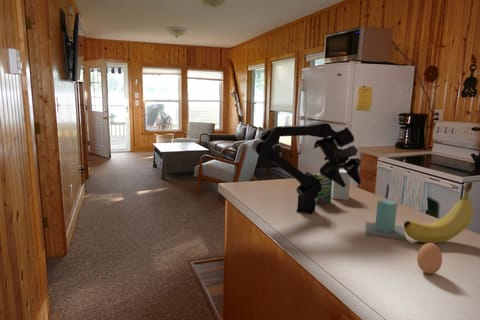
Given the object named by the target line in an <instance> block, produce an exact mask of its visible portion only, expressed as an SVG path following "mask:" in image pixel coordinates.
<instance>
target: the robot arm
mask: <svg viewBox="0 0 480 320" xmlns="http://www.w3.org/2000/svg"><path fill="white" fill-rule="evenodd" d="M298 136H300V137H301V136H302V137H306V136H308V137H309V136H310V137H315V138H320V139H315V141H314V143H313V144H314V145H313V149H317V148H320V150H321V152H322V153H323V155H324V157H323V159H324V161H325V163H324V164H322V165H321V166H320V167H319V174H321V175H322V176H324V175H325V177H327V178H329V179H331V180H333V181H334V182H336V183H337V184H339V185H341V186H342V187H345V186H346V185H345V182H344V181H343V179H342V177H341V175H340V173H339V169H341V170H342V169H343V170H345V171H347V172H346V173H347V174H348V175H349V176H350V179H352V180H353V181H354V182H355V183H357V184H358V185H360V184H361V183H362V180H361V175H360V173H359V167H360V166H361V164H362V161H361V159H360V158H359V157H356V156H357V155H358V153H359V152H358V150H359V149H358V148H357V147H356V146H355V145H351V146H348V147H346V148H344V147H345V146H347V145H350V144H352V143H354V142H355V137H354V135H353V133H352V132H351V131H350V129H349V127H348V126H344V127H342V128H340V129H339V130H337V131H336V130H334V129H333V128H332V126H331V125H330V124H329V123H327V122H322V121H317V122H313V123H308V124H305V125H273V126H271V128H269V130H268V131H267V132H265V133H264V134H263V135H262V136H261V137H260V138H259V139H256V140H255V141H254V142H253V143H252V148H251V149H252V150H253V152H254V153H256V155H257V156H259V157H262V158H263V159H265V160H267V161H270V162H272V163H273V164H275V165H276V166H278V167H279V168H280V169H281V170H283V171H284V172H286V173H287V175H288V174H289V175H290V176H291V177H292V178H294V179H295V180H296V182H298V184H299V186H297V187H296V192H297V194H298V196H297V206H296V207H297V208H296V211H295V212H297V213H301V214H302V213H305V214H310V215H313V213H314V212H315V210H316V205H317V204H316V200H314V199H316V197H317V195H318V193H319V192H320V190H321V183H320V182H319V181H320V180H319V179H318V178H316V177H314V174H313V173H310V172H309V171H308V170H307V171H305V173H304V172H303V171H301V170H300V169H298V168H297V167H295V166H294V165H293V164H291V162H289V161H287V160H286V159H285V157H282V156H281V155H280V154H278V153H277V151H276V149H275V148H274V146H275V145H276V143H277V142H278V140H279V139H280V137H298ZM351 157H353V158H351Z"/></svg>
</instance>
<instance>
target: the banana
mask: <svg viewBox="0 0 480 320" xmlns="http://www.w3.org/2000/svg"><path fill="white" fill-rule="evenodd" d="M472 187H473V182H472V181H468V182H467V183H466V184H465V185H464V186H463V187H462V189H463V190H464V193H463V197H462V198H461V199H460V200H459V201H457V203H456V204H455V205H454V206H453V207H452V208H451V209H450V211H448V212H447V214H445V216H443V217H442V218H440V219H439V220H436V221H435V222H431V223H421V222H417V221H412V220H406V221H404V222H403V223H404V224H403V231H404V233H406V235H407V236H408V237H409V238H411V239H413V240H414V241H416V242H420V243H424V244H427V243H433V244H439V243H445V242H446V241H449V240H452V239H453V238H455V237H456V236H458V235H459V234H461V233H462V232H463V231H464V230H466V228H467V227H468V226H469V224H470V223H471V221H472V219H473V217H474V216H473V214H474V208H473V205H472V203H471V201H470V199H469V198H470V197H469V193H470V191H471V190H472Z"/></svg>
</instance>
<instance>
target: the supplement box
mask: <svg viewBox="0 0 480 320" xmlns="http://www.w3.org/2000/svg"><path fill="white" fill-rule="evenodd" d="M346 172H347V171H345V169H342V168H341V169H339V173H340V175H341V177H342V179H343V181H344V182H345V185H346V186H345V187H342V186H341V185H339V184H337V183H336V182H334V181H333V180H332V189H331V199H335V200H345V201H349V197H350V188H351V177H350V176H349V175H348V174H347V173H346Z"/></svg>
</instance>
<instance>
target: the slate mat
mask: <svg viewBox="0 0 480 320" xmlns="http://www.w3.org/2000/svg"><path fill="white" fill-rule="evenodd" d="M375 224H376V222H372V221H366V222H365V232H366V233H365V234H366V236H370V237H379V238H384V239H385V238H386V239H391V240H392V239H393V240H398V241H406V240H407V239H406V236H405V231H404V228H403V226H402V225H396V224H395V228H394V231H391V232H389V233H385V232H382V231H379V230H377V229H375Z"/></svg>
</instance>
